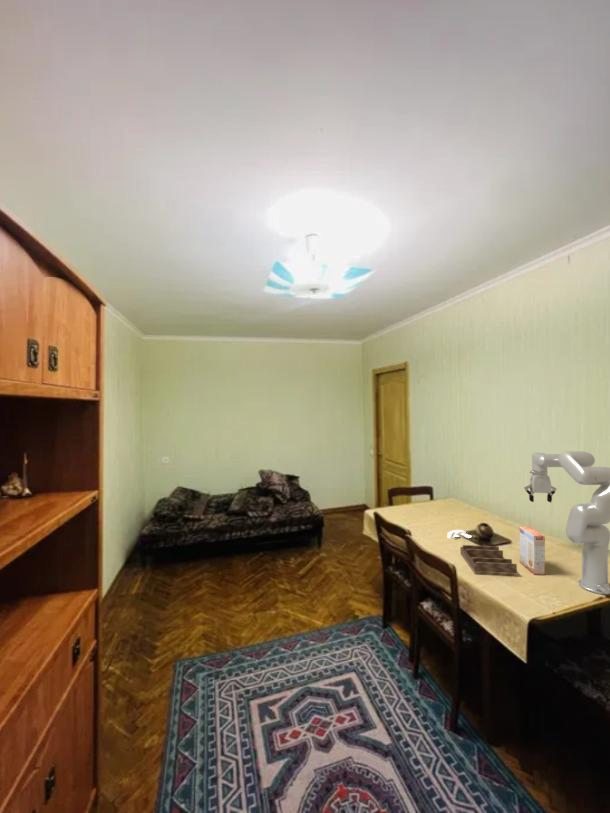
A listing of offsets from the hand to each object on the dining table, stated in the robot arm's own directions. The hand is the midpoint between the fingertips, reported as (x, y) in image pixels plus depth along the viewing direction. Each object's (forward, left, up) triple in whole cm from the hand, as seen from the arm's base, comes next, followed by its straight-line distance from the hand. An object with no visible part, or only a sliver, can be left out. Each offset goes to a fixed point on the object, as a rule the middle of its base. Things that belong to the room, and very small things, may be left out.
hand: (540, 501), depth 202 cm
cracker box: (-22, +16, -31) cm, 41 cm away
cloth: (+21, +41, -32) cm, 56 cm away
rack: (-20, +38, -31) cm, 53 cm away
